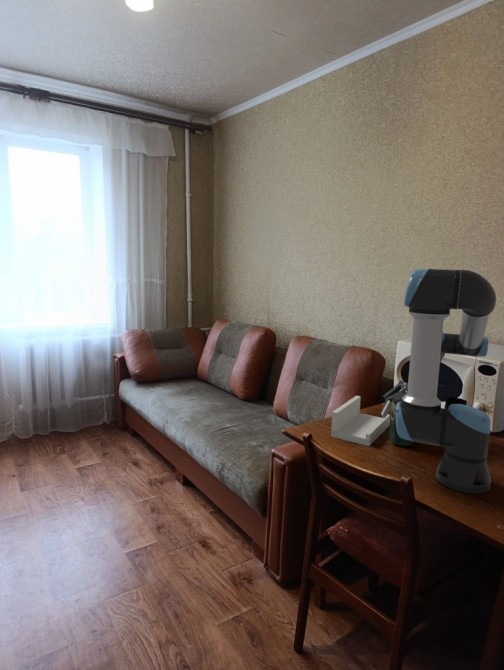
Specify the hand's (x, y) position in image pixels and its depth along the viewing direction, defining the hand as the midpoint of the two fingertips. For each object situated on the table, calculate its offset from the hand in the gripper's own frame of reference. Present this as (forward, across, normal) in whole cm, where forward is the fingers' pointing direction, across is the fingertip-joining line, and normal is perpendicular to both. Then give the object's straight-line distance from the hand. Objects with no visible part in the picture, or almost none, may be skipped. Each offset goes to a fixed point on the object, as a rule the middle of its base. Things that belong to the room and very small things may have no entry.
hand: (399, 421), depth 160 cm
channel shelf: (+6, +16, -6) cm, 18 cm away
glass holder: (-10, -13, -22) cm, 27 cm away
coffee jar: (+5, 0, -8) cm, 9 cm away
